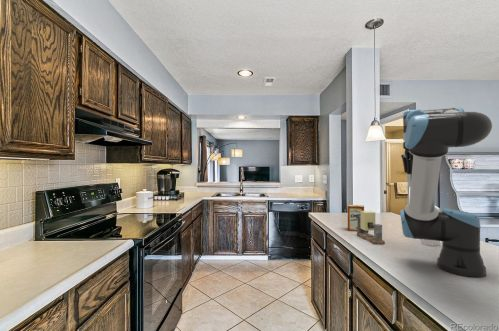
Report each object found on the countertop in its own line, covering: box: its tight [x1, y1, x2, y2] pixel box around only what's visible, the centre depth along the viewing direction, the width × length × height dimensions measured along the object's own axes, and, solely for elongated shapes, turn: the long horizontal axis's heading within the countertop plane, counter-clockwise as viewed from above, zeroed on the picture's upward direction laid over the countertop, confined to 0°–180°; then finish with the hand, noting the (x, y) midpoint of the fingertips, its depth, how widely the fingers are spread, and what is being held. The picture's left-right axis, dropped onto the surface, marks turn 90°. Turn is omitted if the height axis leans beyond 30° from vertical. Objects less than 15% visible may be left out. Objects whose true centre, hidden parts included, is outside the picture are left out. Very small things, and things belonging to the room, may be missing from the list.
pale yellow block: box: [360, 210, 376, 232], centre depth 147 cm, size 5×6×10 cm
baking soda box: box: [347, 204, 365, 233], centre depth 165 cm, size 10×6×16 cm
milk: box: [420, 205, 441, 247], centre depth 136 cm, size 6×6×22 cm
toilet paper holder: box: [356, 216, 386, 245], centre depth 145 cm, size 18×6×12 cm, turn 5°
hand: (411, 186), depth 133 cm, fingers closed
